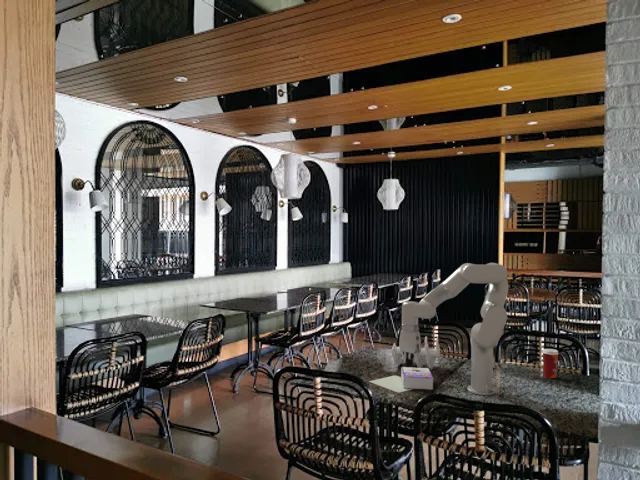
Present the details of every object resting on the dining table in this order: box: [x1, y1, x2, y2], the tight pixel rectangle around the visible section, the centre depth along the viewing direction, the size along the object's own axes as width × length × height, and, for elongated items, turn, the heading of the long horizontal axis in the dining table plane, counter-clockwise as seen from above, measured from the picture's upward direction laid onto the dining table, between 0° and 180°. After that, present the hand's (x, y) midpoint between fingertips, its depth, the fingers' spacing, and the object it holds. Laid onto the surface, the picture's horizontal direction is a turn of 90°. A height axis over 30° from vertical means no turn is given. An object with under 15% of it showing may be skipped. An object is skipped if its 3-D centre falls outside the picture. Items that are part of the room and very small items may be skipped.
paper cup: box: [541, 348, 559, 379], centre depth 251 cm, size 8×8×14 cm
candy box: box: [400, 366, 434, 391], centre depth 237 cm, size 14×6×16 cm
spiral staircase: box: [391, 336, 441, 371], centre depth 267 cm, size 18×18×25 cm
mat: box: [368, 375, 413, 394], centre depth 237 cm, size 20×18×1 cm
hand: (409, 366), depth 230 cm, fingers closed
